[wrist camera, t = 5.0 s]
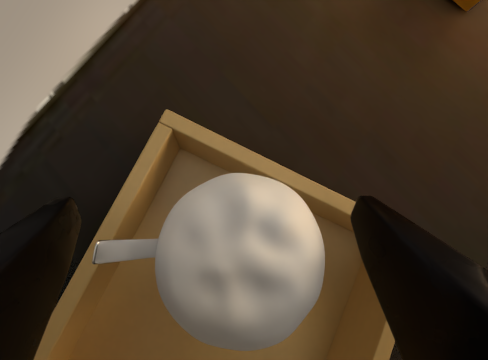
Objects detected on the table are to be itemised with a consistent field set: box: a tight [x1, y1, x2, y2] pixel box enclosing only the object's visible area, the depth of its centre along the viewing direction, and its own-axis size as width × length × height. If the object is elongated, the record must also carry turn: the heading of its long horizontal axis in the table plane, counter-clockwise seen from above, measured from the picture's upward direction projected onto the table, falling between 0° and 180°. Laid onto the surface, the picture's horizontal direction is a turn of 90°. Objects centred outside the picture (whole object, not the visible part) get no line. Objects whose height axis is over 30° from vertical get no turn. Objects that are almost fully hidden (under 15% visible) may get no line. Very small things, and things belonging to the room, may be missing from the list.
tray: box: [34, 109, 395, 360], centre depth 14 cm, size 13×13×4 cm
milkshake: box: [92, 173, 325, 351], centre depth 11 cm, size 4×5×10 cm
